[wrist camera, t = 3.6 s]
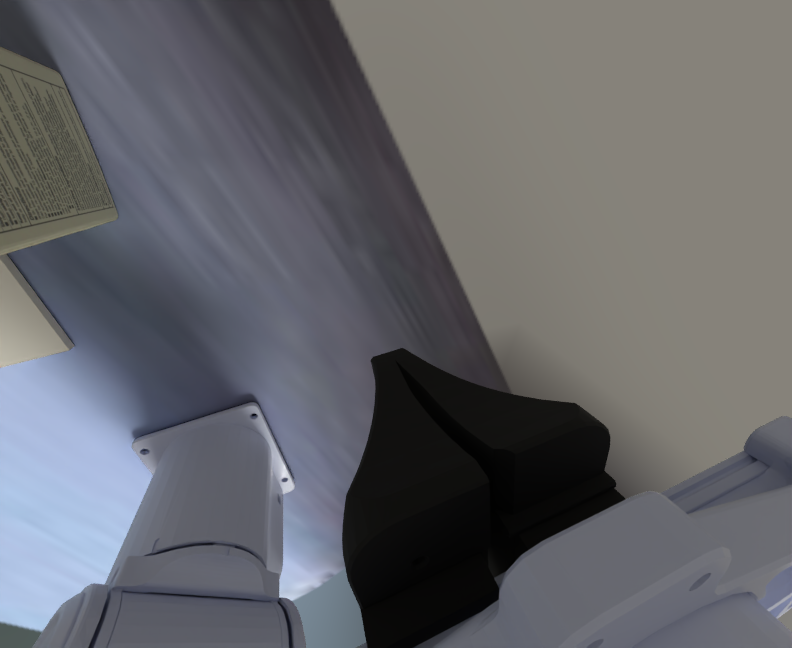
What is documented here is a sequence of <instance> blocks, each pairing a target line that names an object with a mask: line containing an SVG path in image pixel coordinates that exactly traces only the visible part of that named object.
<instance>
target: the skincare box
mask: <svg viewBox="0 0 792 648" xmlns="http://www.w3.org/2000/svg"><path fill="white" fill-rule="evenodd" d="M117 218H118V213H117V211H116V208H115V205H114V202H113V200H112V197H111V194H110V192H109V189H108V186H107V184H106V181H105V179H104V176H103V174H102V171H101V169H100V166H99V163H98V161H97V159H96V156H95V154H94V151H93V149H92V146H91V144H90V142H89V139H88V137H87V134H86V132H85V130H84V127H83V125H82V123H81V120H80V118H79V116H78V113H77V111H76V109H75V106H74V104H73V102H72V100H71V97H70V95H69V93H68V91H67V88H66V86H65V84H64V81H63V79H62V77H61V75H60V74H59V73H58V72H57V71H55V70H53V69H51V68H48V67H46V66H44V65H41V64H39V63H37V62H35V61H32V60H30V59H28V58H26V57H23V56H21V55H18V54H16V53H14V52H12V51H9V50H7V49H5V48H2V47H0V255H4V254H7V253H10V252H13V251H17V250H20V249H23V248H27V247H30V246H34V245H37V244H40V243H43V242H46V241H49V240H53V239H56V238H59V237H62V236H66V235H69V234H72V233H75V232H80V231H83V230H86V229H89V228H92V227H95V226H98V225H102V224H105V223H108V222H112V221H115V220H117Z"/></svg>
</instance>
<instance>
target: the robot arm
mask: <svg viewBox="0 0 792 648" xmlns="http://www.w3.org/2000/svg"><path fill="white" fill-rule="evenodd" d="M371 364H372V368H373V373H374V377H375V385H376V392H375V406H374V413H373V419H372V425H371V429H370V433H369V437H368V441H367V445H366V448H365V451H364V454H363V456H362V459H361V462H360V465H359V468H358V470H357V473H356V475H355V477H354V479H353V481H352V484H351V486H350V488H349V490H348V493H347V495H346V502H345V509H344V519H343V533H342V544H343V556H344V562H345V567H346V573H347V578H348V582H349V584H350V586H351V588H352V591H353V593H354V595H355V597H356V600H357V602H358V604H359V606H360V609H361V613H362V620H363V625H364V631H365V637H366V643H364V644H362V645H360V646H358V647H357V648H792V632H791V631H790V630H789V629H788V628H787V627H785V625H783V624H782V623H781V622H780V621H779V620H778V618H779V617H780V616H782V615H783V614H784V613H786V612H787V611H788V610H789V609H791V608H792V418H790V417H788V416H781V417H779V418H777V419H775V420H773V421H771V422H769V423H767V424H765V425H763V426H761V427H759V428H758V429H756V430H755V431H754V432H753V433H752V434H751V435H750V436H749V438H748V439H747V441H746V443H745V446H744V451H742V452H740V453H738V454H736V455H734V456H732V457H730V458H728V459H727V460H725V461H722V462H721V463H718V464H717V465H715V466H713V467H711V468H709V469H707V470H705V471H703V472H701V473H699V474H697V475H695V476H693V477H691V478H689V479H687V480H685V481H683V482H681V483H679V484H677V485H675V486H673V487H671V488H669V489H667V490H665V491H663V492H661V493H658V492H652V491H647V492H644V493H641V494H638V495H635V496H632V497H630V498H628V499H625V498H624V497H623V496H622V495H621V494H620V493H619V492H617V490H615V489H614V487H616V482H615V480H614V479H613V478H612V477H611V476H609V475H608V474H607V473H606V472H605V471H604V469H605V465H606V461H607V457H608V452H609V448H610V434H609V431H608V429H607V428H606V427H605V426H604V424H602V423H601V422H600V421H599V420H597V419H596V418H595V417H593V416H592V415H591V414H589V413H588V412H587V411H585V410H584V409H583V408H581V407H580V406H579V405H577V404H575V403H569V402H559V401H550V400H541V399H535V398H529V397H523V396H518V395H513V394H509V393H504V392H501V391H497V390H493V389H489V388H486V387H483V386H480V385H477V384H474V383H471V382H468V381H465V380H463V379H460V378H458V377H456V376H454V375H451V374H449V373H447V372H445V371H443V370H441V369H439V368H437V367H435V366H433V365H431V364H429V363H427V362H426V361H424V360H422V359H421V358H419V357H417V356H415V355H414V354H412V353H410V352H409V351H407V350H405V349H404V348H401V349H397V350H394V351H391V352H388V353H385V354H381V355H378V356H375V357H373V358H372V359H371ZM254 413H255V414H257V415H256V416H252V415H251V414H254ZM132 449H133V450H134V451H135V453H136V454H137V455H138V456H139V458H140V459H141V460H142V462H143V463H144V464H145V465H146V467H147V468H148V469H149V471H150V472H151V473H152V474H153V477H152V479H151V482H150V484H149V486H148V488H147V491H146V493H145V495H144V497H143V500H142V502H141V504H140V506H139V509H138V511H137V513H136V515H135V518H134V520H133V522H132V524H131V527H130V529H129V531H128V533H127V536H126V538H125V540H124V542H123V545H122V547H121V549H120V551H119V554H118V556H117V558H116V560H115V563H114V565H113V567H112V569H111V572H110V574H109V576H108V578H107V581H106V583H105V585H103V584H95V583H94V584H90V585H89V586H87V587H86V588H84V589H83V591H82V592H81V593H79V594H77V595H75V596H74V597H72V598H71V599H69V600H67V601H66V602H65V603H63V604H62V605H61V607H60V608H59V609H58V610H57V612H56V613H55V614H54V616H53V617H52V618H51V620H50V621H49V623H48V624H47V626H46V627H45V629H44V630H43V632H42V633H41V635H40V637H39V638H38V639H37V641H36V643H35V644H34V646H33V647H32V648H306V642H305V636H304V631H303V625H302V621H301V617H300V614H299V612H298V610H297V607H296V606H295V605H294V603H293V602H292V601H290V600H289V599H287V598H279V579H280V576H281V572H282V566H283V494H284V493H287V492H290V491H292V490H293V489H294V488H295V482H294V480H293V478H292V475H291V473H290V471H289V469H288V467H287V465H286V463H285V461H284V458H283V456H282V454H281V452H280V450H279V448H278V446H277V443H276V441H275V439H274V437H273V435H272V433H271V431H270V428H269V426H268V424H267V422H266V420H265V418H264V416H263V414H262V411H261V409H260V407H259V405H258V404H257V403H254V402H251V403H247V404H244V405H240V406H237V407H234V408H231V409H228V410H224V411H221V412H218V413H215V414H212V415H209V416H205V417H202V418H199V419H196V420H193V421H189V422H186V423H183V424H180V425H177V426H174V427H170V428H167V429H164V430H161V431H158V432H154V433H151V434H148V435H145V436H142V437H139V438H137V439H135V440H134V442H133V444H132ZM143 449H148V450H143Z"/></svg>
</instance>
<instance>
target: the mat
mask: <svg viewBox="0 0 792 648" xmlns="http://www.w3.org/2000/svg"><path fill="white" fill-rule="evenodd" d="M73 347H74V345H73V343H72V342H71V340H70V339H69V338H68V336H67V335H66V334H65V332H64V331H63V330H62V328H61V327H60V326H59V324H58V323H57V322H56V320H55V319H54V318H53V316H52V315H51V313H50V312H49V311H48V309H47V308H46V307H45V305H44V304H43V303H42V301H41V300H40V299H39V297H38V296H37V295H36V293H35V292H34V291H33V289H32V288H31V286H30V285H29V284H28V282H27V281H26V280H25V278H24V277H23V276H22V274H21V273H20V272H19V270H18V269H17V268H16V266H15V265H14V264H13V262H12V261H11V260H10V258H9V257H8V255H7V254H4V255H0V368H1V367H5V366H9V365H13V364H17V363H21V362H25V361H29V360H33V359H37V358H41V357H45V356H49V355H53V354H57V353H61V352H65V351H69V350H70V349H72V348H73Z"/></svg>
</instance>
